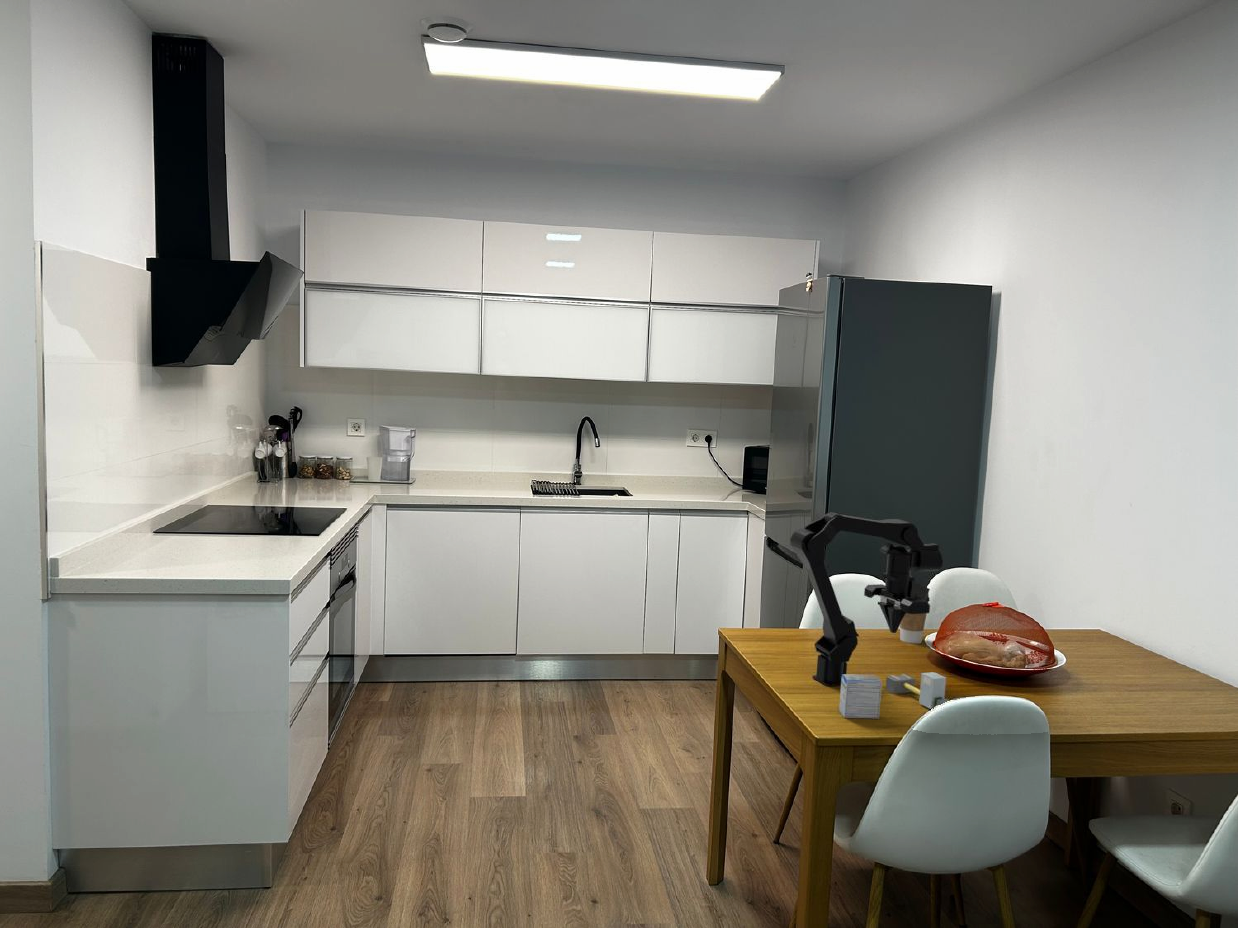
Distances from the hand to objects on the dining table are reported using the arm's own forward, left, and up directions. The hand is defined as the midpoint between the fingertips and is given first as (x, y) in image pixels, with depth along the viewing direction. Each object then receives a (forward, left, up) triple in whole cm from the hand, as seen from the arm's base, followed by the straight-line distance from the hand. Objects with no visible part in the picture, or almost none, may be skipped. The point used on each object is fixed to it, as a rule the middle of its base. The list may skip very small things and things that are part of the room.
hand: (893, 632), depth 229 cm
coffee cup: (+29, +27, -12) cm, 42 cm away
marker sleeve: (-3, -19, -12) cm, 22 cm away
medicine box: (-23, -19, -12) cm, 32 cm away
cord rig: (-3, -15, -12) cm, 20 cm away
